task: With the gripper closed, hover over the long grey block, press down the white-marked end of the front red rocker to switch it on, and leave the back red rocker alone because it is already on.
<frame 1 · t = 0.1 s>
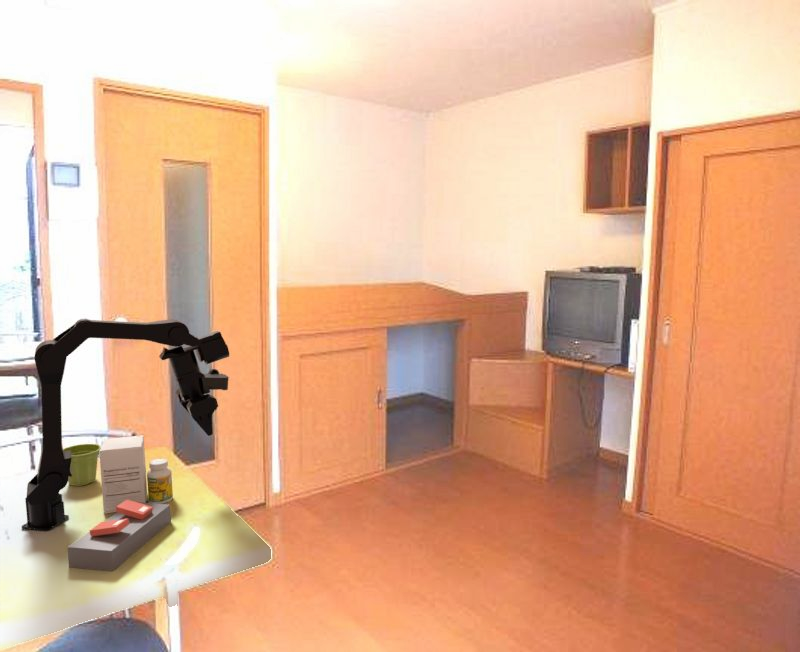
hand: (206, 430, 142), 15 cm above the table, tool pointing down, fingers open, 9 cm apart
plant pot: (82, 482, 149), on the table
supplement box: (126, 504, 136), on the table
long grey block: (124, 542, 118), on the table
supplement bottle: (160, 501, 138), on the table
rocker back: (134, 509, 121), point 5 cm above the table, hinge at 12.0°
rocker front: (109, 527, 113), point 5 cm above the table, hinge at -12.0°
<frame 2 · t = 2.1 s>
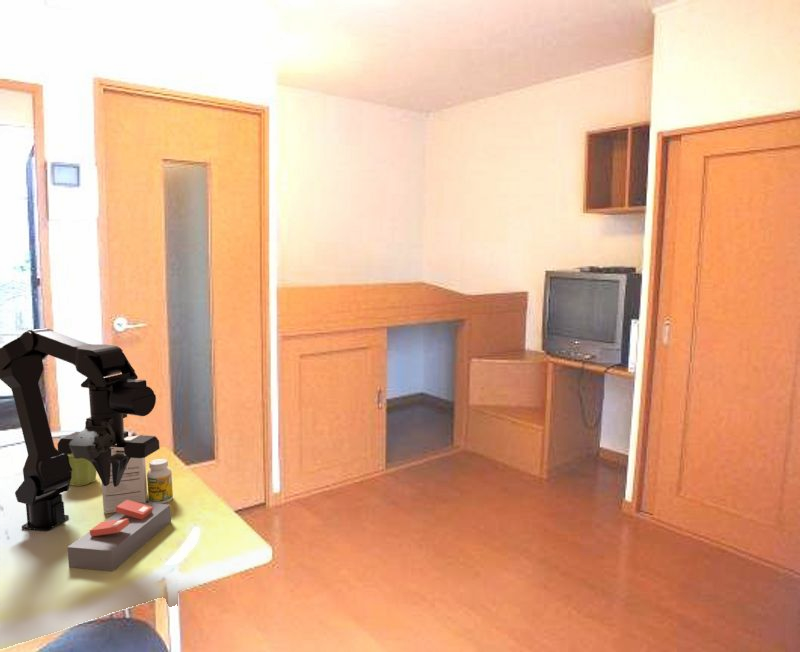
hand: (111, 485, 117), 12 cm above the table, tool pointing down, fingers closed
nothing on the table moved.
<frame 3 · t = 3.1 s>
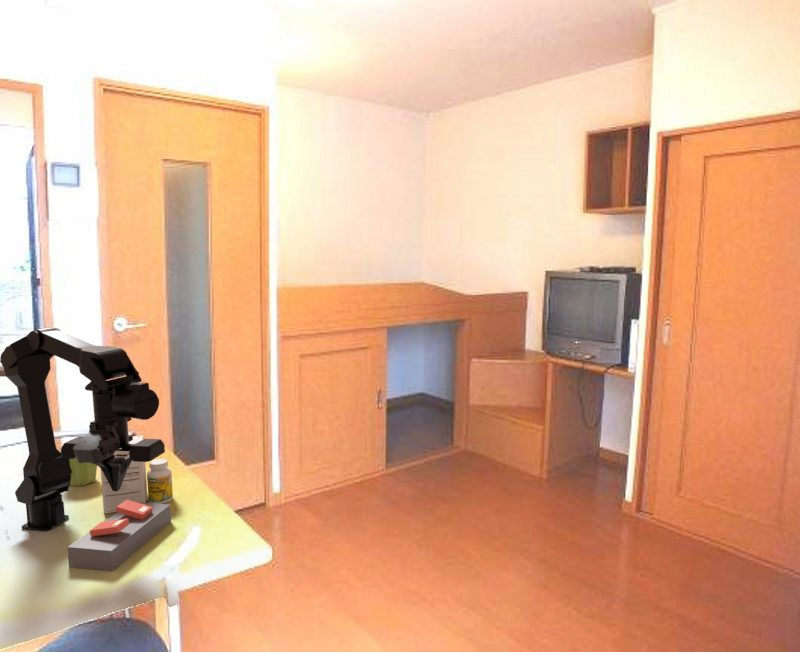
hand: (116, 490, 115), 12 cm above the table, tool pointing down, fingers closed
nothing on the table moved.
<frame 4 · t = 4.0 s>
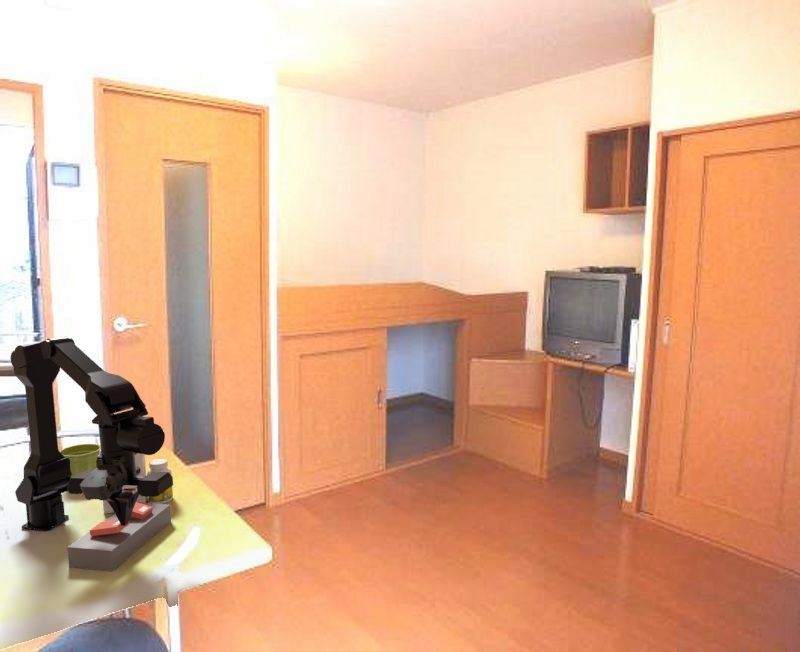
hand: (124, 524, 113), 6 cm above the table, tool pointing down, fingers closed, pressing on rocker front
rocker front: (109, 527, 113), point 5 cm above the table, hinge at -11.5°, touching gripper
everything else where it was.
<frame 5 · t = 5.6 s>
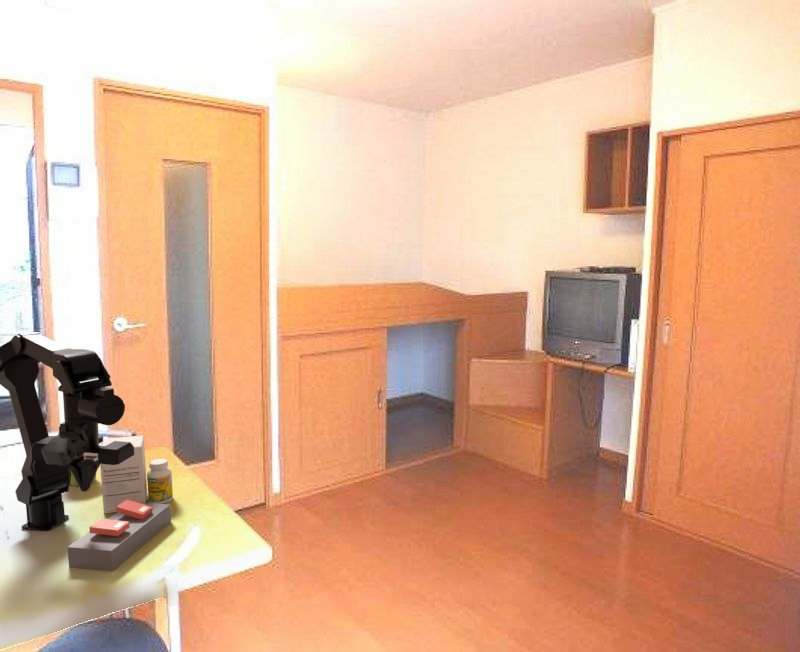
hand: (85, 490, 116), 11 cm above the table, tool pointing down, fingers closed
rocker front: (109, 527, 113), point 5 cm above the table, hinge at 1.7°
everything else where it was.
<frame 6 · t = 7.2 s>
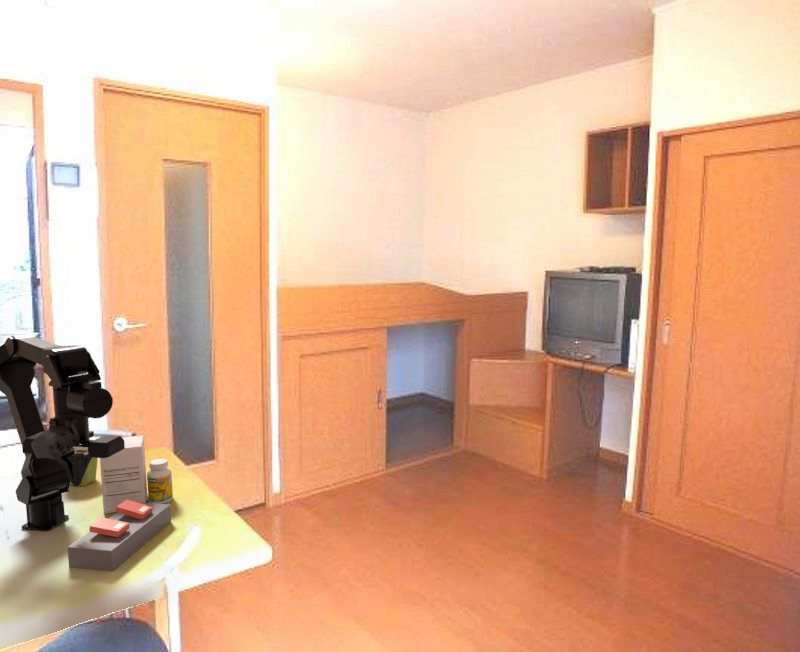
hand: (76, 485, 117), 12 cm above the table, tool pointing down, fingers closed
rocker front: (109, 527, 113), point 5 cm above the table, hinge at 6.1°
everything else where it was.
at the end: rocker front at +6° (first picture: -12°); rocker back at +12° (first picture: +12°) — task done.
